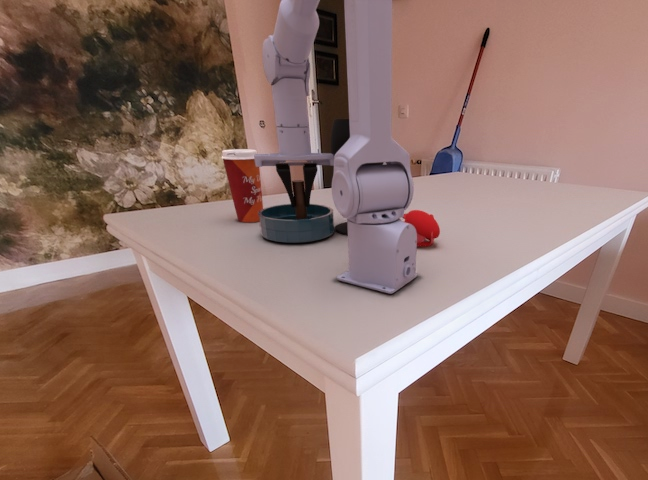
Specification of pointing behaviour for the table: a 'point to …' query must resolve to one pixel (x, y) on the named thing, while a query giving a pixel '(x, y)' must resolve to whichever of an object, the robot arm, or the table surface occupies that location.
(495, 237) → the table surface
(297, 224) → the bowl
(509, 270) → the table surface
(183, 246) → the table surface
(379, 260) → the robot arm
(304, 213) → the stirrer
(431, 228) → the cap
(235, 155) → the paper cup
